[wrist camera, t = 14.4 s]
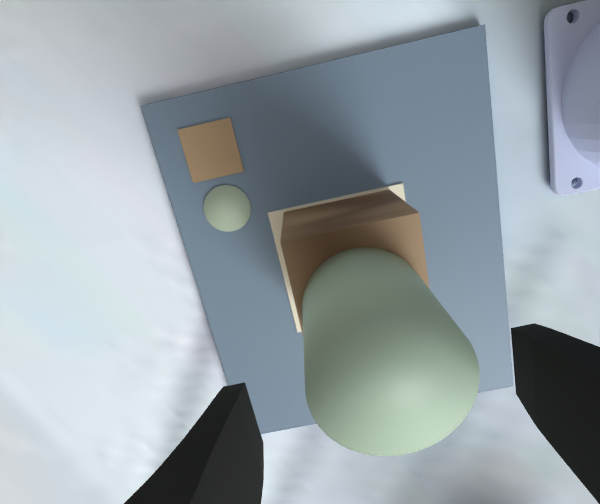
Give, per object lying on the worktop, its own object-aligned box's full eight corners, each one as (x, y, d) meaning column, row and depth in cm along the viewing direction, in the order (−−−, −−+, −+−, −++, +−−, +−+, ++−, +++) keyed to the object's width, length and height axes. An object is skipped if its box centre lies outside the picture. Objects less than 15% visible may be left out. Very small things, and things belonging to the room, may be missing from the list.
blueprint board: (480, 26, 18) (486, 23, 18) (509, 381, 24) (514, 387, 23) (143, 106, 19) (139, 105, 19) (245, 432, 24) (244, 438, 24)
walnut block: (389, 189, 20) (419, 212, 15) (404, 287, 21) (436, 337, 16) (283, 212, 20) (280, 242, 15) (305, 307, 21) (308, 361, 17)
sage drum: (415, 235, 15) (471, 289, 10) (431, 346, 17) (486, 439, 12) (290, 261, 15) (287, 325, 11) (315, 369, 17) (323, 469, 12)
